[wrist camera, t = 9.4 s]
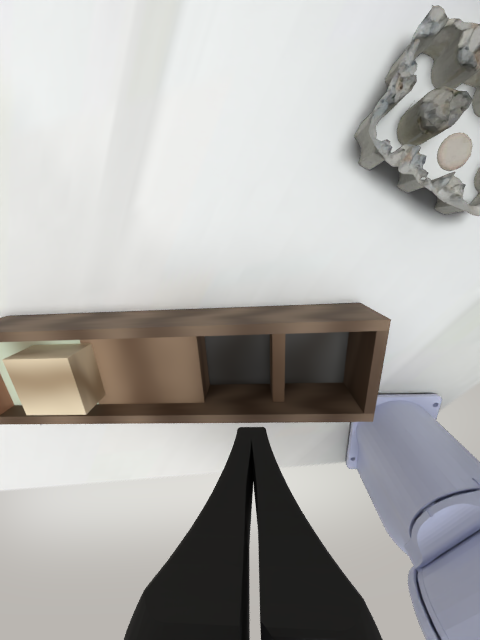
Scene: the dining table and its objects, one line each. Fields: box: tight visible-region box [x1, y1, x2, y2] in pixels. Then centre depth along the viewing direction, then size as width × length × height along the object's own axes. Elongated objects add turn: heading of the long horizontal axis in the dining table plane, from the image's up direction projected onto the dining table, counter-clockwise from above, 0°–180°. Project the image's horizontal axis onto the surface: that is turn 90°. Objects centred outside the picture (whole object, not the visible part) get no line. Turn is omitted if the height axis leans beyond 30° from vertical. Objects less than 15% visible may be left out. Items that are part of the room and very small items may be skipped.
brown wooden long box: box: [0, 303, 391, 424], centre depth 20 cm, size 32×9×4 cm, turn 93°
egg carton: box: [354, 5, 480, 216], centre depth 14 cm, size 11×8×4 cm
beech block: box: [3, 343, 106, 415], centre depth 18 cm, size 5×5×2 cm
